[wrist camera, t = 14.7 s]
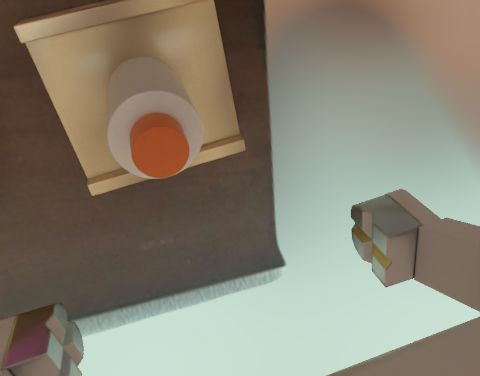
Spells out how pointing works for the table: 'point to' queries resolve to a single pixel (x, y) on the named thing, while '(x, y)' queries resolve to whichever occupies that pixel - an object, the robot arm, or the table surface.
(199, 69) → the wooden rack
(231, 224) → the table surface
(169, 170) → the white bottle
